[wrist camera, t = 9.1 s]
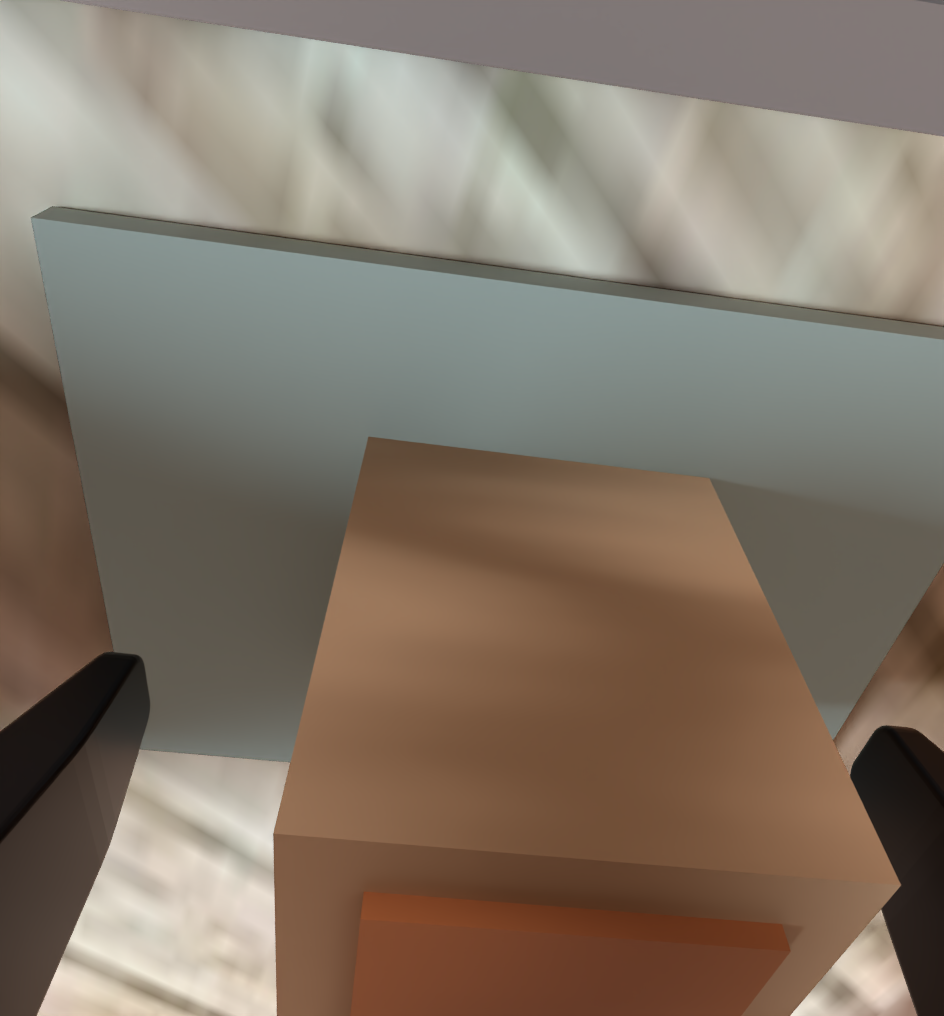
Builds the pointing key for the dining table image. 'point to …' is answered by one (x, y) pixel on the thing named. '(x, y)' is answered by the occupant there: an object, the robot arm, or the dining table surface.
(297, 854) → the labelled block
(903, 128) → the parts bin
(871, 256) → the dining table surface
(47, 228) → the mat
